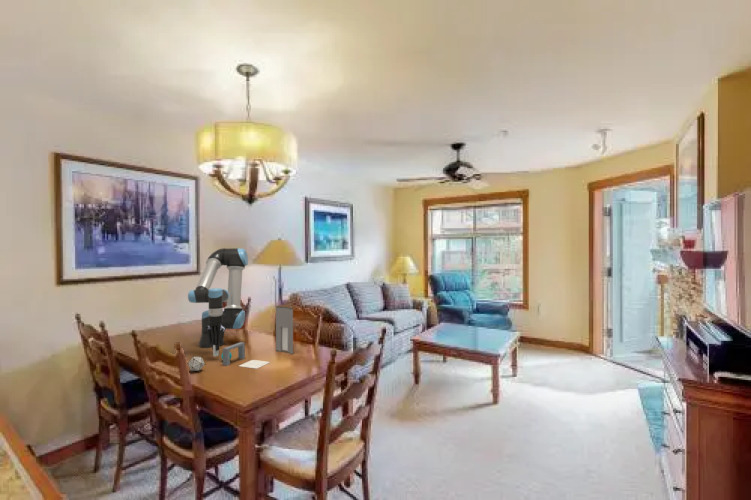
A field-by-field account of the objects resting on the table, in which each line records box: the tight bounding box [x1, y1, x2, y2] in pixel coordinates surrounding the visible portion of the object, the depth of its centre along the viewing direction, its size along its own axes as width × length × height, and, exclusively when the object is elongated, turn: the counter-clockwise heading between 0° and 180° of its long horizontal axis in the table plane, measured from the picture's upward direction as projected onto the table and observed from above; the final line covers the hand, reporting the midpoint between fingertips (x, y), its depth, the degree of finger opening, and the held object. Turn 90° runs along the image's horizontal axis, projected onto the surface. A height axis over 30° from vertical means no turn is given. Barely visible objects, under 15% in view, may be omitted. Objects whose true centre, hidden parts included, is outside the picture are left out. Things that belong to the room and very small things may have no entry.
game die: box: [186, 355, 207, 373], centre depth 201 cm, size 9×8×10 cm
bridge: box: [222, 341, 246, 367], centre depth 218 cm, size 3×14×9 cm, turn 160°
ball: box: [220, 351, 233, 360], centre depth 219 cm, size 6×6×6 cm
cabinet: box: [275, 302, 294, 355], centre depth 241 cm, size 21×10×28 cm, turn 17°
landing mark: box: [238, 359, 271, 370], centre depth 213 cm, size 12×12×1 cm
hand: (215, 355), depth 222 cm, fingers closed
